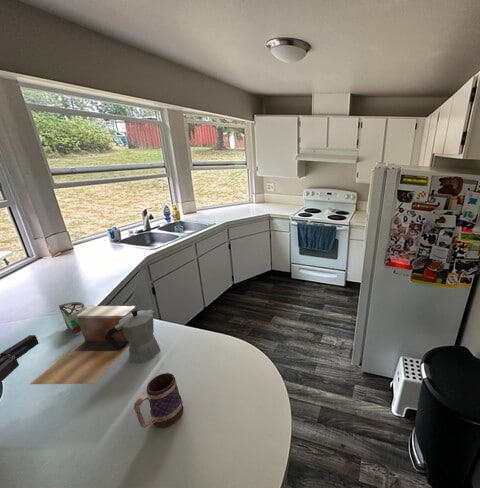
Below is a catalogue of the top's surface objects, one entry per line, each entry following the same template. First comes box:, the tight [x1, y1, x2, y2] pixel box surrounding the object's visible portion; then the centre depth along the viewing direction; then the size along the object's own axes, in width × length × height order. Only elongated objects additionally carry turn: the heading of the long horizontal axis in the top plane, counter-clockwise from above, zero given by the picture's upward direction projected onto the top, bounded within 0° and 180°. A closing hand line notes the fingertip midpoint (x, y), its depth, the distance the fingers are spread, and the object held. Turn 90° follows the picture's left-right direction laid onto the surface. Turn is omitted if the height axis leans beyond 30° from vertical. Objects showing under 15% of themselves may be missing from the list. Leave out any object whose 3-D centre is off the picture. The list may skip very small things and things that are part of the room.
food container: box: [58, 301, 88, 337], centre depth 96 cm, size 12×6×10 cm, turn 58°
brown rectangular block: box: [77, 305, 138, 341], centre depth 91 cm, size 16×6×11 cm, turn 92°
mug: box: [133, 372, 184, 429], centre depth 63 cm, size 10×7×12 cm
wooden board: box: [29, 339, 129, 385], centre depth 85 cm, size 18×24×1 cm
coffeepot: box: [105, 308, 161, 364], centre depth 82 cm, size 15×9×18 cm, turn 153°
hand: (34, 339), depth 66 cm, fingers closed
